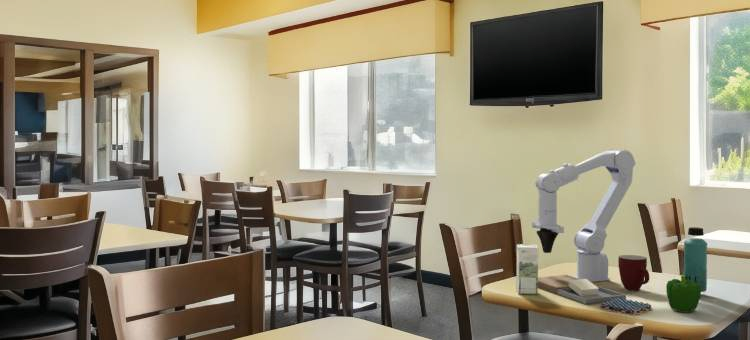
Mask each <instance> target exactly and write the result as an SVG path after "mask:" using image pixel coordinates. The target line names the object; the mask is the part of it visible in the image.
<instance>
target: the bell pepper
mask: <svg viewBox="0 0 750 340" xmlns="http://www.w3.org/2000/svg"><path fill="white" fill-rule="evenodd" d="M680 279H681V280H680ZM680 279H678V278H673V279H671V280H668V281H667V283H666V285H665V286H666V288H665V289H666V290H665V291H666V296H667V301H668V305H669V307H670V309H671V310H674V311H677V312H681V313H691V312H693V311H695V310H696V309H697V308H698V305H699V303H700V302H699V301H700V297H701V296H702V295H701V294H702V292H701V286H700V284H699V283H698V282H693V281H691V280H686V281H685V275H684V274H681V275H680Z"/></svg>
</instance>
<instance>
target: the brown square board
mask: <svg viewBox="0 0 750 340" xmlns="http://www.w3.org/2000/svg"><path fill="white" fill-rule="evenodd" d="M572 276H573V275H568V274H562V275H550V276H542V277H539V276H538V289H541V290H543V291H546V292H549V293H552V294H555V295H557V289H567V288H570V287H569V281H570V280H578V278H575V277H572ZM591 283H592V284H594V285H596V283H594V282H591Z"/></svg>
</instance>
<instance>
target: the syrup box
mask: <svg viewBox="0 0 750 340" xmlns="http://www.w3.org/2000/svg"><path fill="white" fill-rule="evenodd" d="M515 273H516V274H515V275H516V276H515V277H516V282H515V283H516V284H515V285H516V286H515V287H516V289H515V290H516V292H517V293H518V295H533V296H534V295H538V293H539V291H538V289H539V288H538V278H539V247H538V246H537V244H534V243H530V244H529V243H527V244H525V243H517V244H516V272H515Z"/></svg>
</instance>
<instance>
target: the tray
mask: <svg viewBox="0 0 750 340" xmlns="http://www.w3.org/2000/svg"><path fill="white" fill-rule="evenodd" d="M595 286H596V287H598V288H599V290H598V294H596V295H587V296H580V295H579V294H577V293H576V292H575V291H574V290H572V289H571V288H567V289H557V294H556V295H558V296H560V297H563V298H565V299H566V298H567V299H569V300H572V301H574V302H577V303H580V304H583V305H593V304H594V305H595V304H601V303H604V302H607V301H612V300H613V299H614V300H615V299H618V298H621V299H626V300H627V295H626V294H625V293H622V292H619V291H616V290H612V289H608V288H605V287H603V286H598V285H596V284H595Z"/></svg>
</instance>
